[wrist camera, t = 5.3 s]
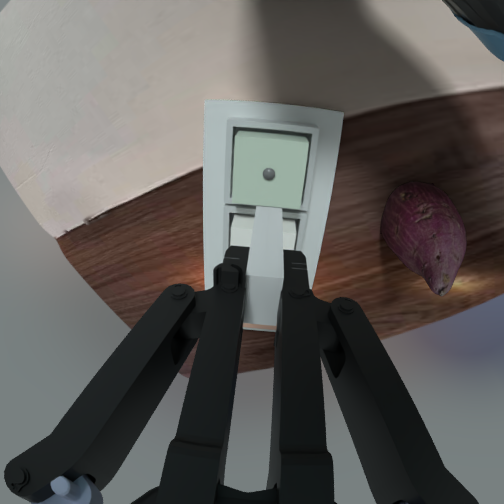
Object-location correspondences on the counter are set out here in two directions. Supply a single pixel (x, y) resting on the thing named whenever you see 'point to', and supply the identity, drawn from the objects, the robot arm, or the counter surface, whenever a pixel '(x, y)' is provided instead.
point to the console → (223, 210)
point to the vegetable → (425, 233)
